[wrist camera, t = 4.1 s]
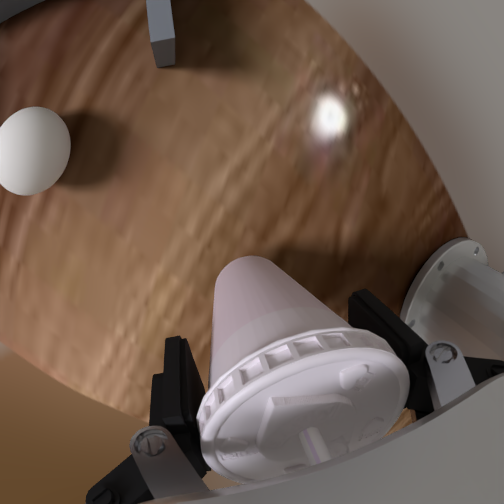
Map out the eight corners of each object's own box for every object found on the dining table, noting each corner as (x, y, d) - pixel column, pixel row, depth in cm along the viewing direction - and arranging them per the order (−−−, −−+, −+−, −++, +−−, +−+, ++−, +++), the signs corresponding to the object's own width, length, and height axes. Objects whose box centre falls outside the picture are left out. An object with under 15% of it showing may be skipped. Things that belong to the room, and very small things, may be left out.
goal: (161, -46, 11) (162, -86, 6) (175, 64, 14) (175, 37, 10) (-51, 47, 8) (-85, 37, 4) (-49, 153, 11) (-90, 161, 7)
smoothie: (267, 204, 15) (532, 437, 2) (325, 295, 17) (489, 493, 4) (163, 279, 15) (150, 597, 2) (235, 356, 17) (306, 590, 5)
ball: (75, 99, 13) (43, 87, 9) (88, 175, 15) (59, 186, 11) (11, 126, 12) (-30, 125, 8) (25, 197, 14) (-14, 215, 10)
